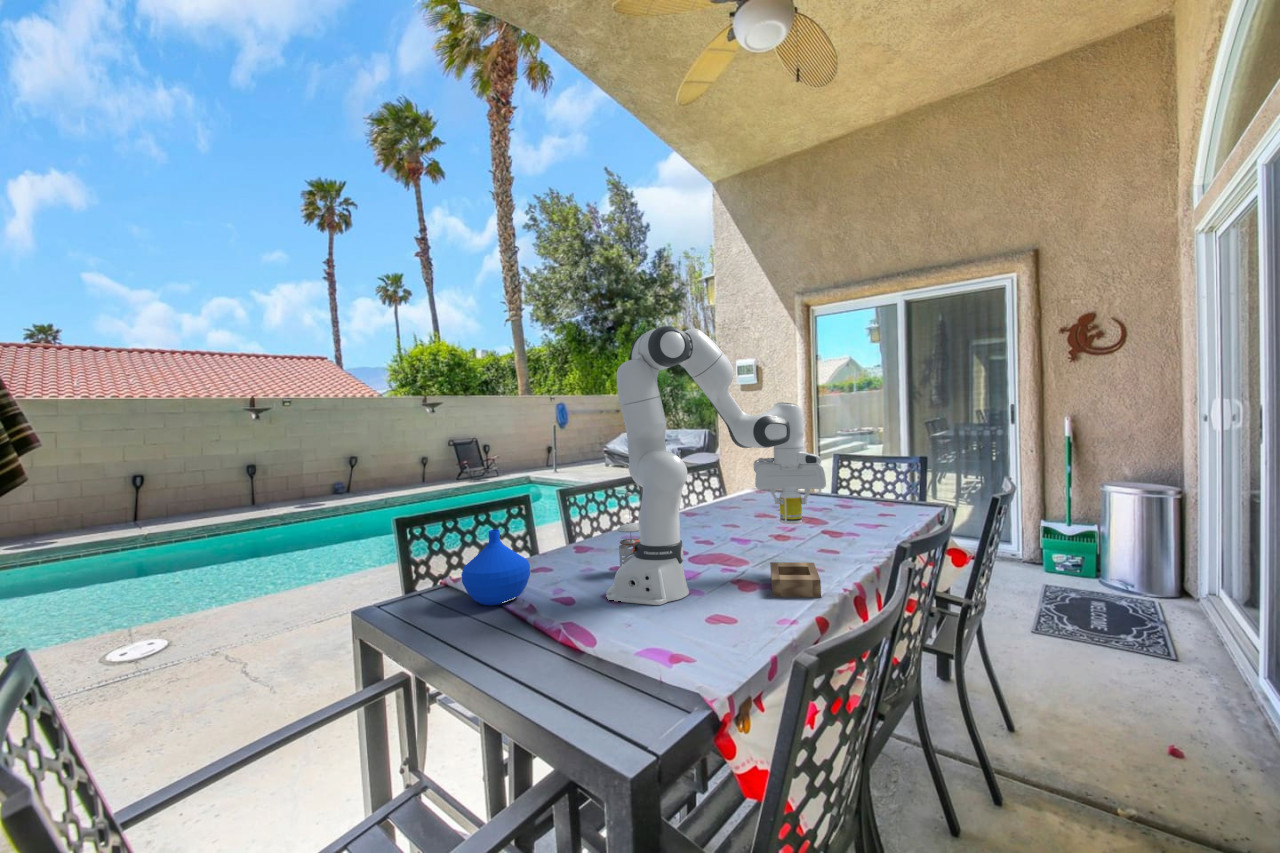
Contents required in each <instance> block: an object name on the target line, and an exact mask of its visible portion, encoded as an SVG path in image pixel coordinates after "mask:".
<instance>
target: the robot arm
mask: <svg viewBox="0 0 1280 853" xmlns="http://www.w3.org/2000/svg"><path fill="white" fill-rule="evenodd" d="M630 348H631V349H630V354H629V357H628V359H627V360H626V361H624V362H623V363H621V364H620V365H619V367H618V368H617V371H616V388H617V394H618V396H617V397H618V400H619V401H618V402H619V406H620V409H621V410H620V411H621V415H622V418H623V424H624V427H625V428H624V429H625V433H626V439H627V452H628V453H627V455H628V461H629V462H628V472H629V475H630V476H631V477H630V478H632V480H633V481H634V482H635V484H636V485H638V486H640V487H642V498H641V503H640V508H639V510H638V516H637V517H638V524H639V531H638V532H639V533H638V534H639V539H640V540H636V542H635V543H634V545H633V546H632V547H631V549H633V550H632V551H633V555H634V556H633V557H632V558H631V559H630V560H628V561H627V562H626V563H625V564H622V565H623V566H621V567H620V566H619V568H618V570H617V571H616V573H615V576H614V580H613V584H612V585H611V586H610V587H608V588H607V589H606V593H605V598H606V597H607V599H608V600H607V599H606V600H607V601H609V600H614V601H613V602H618V601H621V602H620V603H630V604H640V605H650V606H651V605H653V606H661V605H663V604H665V603H668V602H673V601H678V600H681V599H684V598H686V597H687V596H688V595H689V594H690V589H689V587H688V584H687V580H686V576H685V571H684V570H685V569H684V566H683V561H684V545H683V541H682V539H681V528H680V527H681V525H680V524H681V523H680V511H681V510H680V509H681V500H682V493H683V489H684V488H683V487H684V486H685V484H686V482H687V480H688V468H687V464H686V463H685V462H684V461H683V460H682V458H680V457H679V456H678V455H677V454H675V453H673V452H670V451H668V450H667V448H666V447H667V446H666V428H667V418H666V415H665V411H664V406H663V402H662V401H663V400H662V398H661V393H660V390H659V386H658V376H659V373H660V371H664V370H667V369H669V368H673V367H675V366H679V365H680V366H681V367H682V368H683V369H685V371H686V372H687V374H688V375H689V376H690V377H691V378H692V380H693V381H694V383H696V385H697V386H698V387H699V388H700V389H701V391H703V393H704V395H705V397H706V398H707V400H708V402H710V404H711V405H712V407H713V408H714V409H715V411H716V412H717V414H718V415H719V416H720V418H721V420H722V422H724V424H725V425H726V428H727V430H728V433H729V436H730V438H731V440H732V442H733V443H734V444H735V445H736V446H737V447H740V448H742V449H751V448H754V449H755V448H757V449H759V448H760V449H768V448H773V457H766V458H763V457H759V458H758V459H756V460H754V461H753V471H754V473H755V480H754V481H755V483H754V487H755V488H756V489H757V490H770V494H771V496H772V497H773V499H774V505H780V497H777V495H776V494H775V493H776V492H777V490H782V489H785V487H786V486H795V487H796V489H798V490H804V492H805V494H804V496H803V497H801V505H807V499H808V497H809V496H810V494H811V490H823V489H825V488H826V487H827V479H826V473H825V469H824V466H822V465H821V460H822V459H821V456H819V455H818V454H814V453H812V452H808V451H805V444H804V433H805V427H804V426H805V424H804V416H803V411H802V409H801V407H800V406H799V405H798V404H796V403H792V402H777V403H775V404H774V405H773V406H772V407H771V408H770V409H768V410H767V411H765V412H763V413H761V414H756V415H755V414H754V415H752V414H748V413H746V412H745V411H743V410H742V409H741V407H740V405H739V404H738V402H736V400H735V398H734V397H733V396H732V394H731V393H730V389H729V387H730V386H731V384H732V382H733V380H734V376H735V373H734V372H735V371H734V367H733V365H732V363H731V361H730V359H729V358H728V357H727V356H726V354H725V353H724V352H723V351H722V350H721V349H720V348H719V346H718V345H717V344H716V343H715V342H714V341H713V340H712V339H711V338H710V337H709V336H708V335H706V333H704V332H703V331H702V330H700V329H698V328H689V329H686V330H684V331H683V330H681V329H680V328H677V327H675V326H671V325H670V326H669V325H664V326H660V327H657V328H653V329H650V330H648V331H646V332H645V333H643V334H641V335H639V336H638V337H636V339H635V340H634V342H632V345H631V347H630Z"/></svg>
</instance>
